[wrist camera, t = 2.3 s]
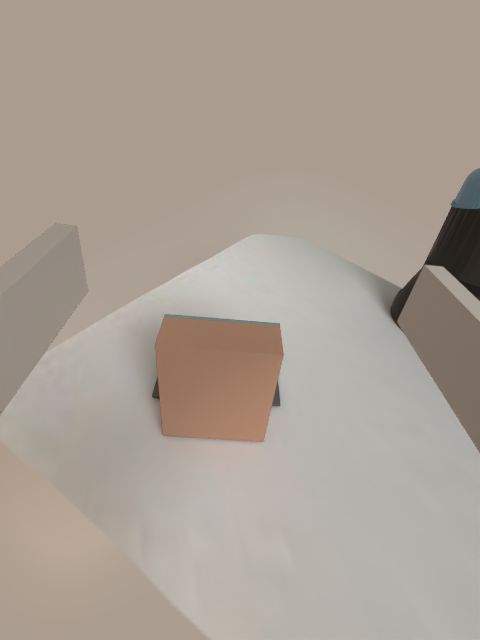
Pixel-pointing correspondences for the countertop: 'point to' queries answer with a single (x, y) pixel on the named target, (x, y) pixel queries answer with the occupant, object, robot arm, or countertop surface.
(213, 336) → the tile
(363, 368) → the countertop surface
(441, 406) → the countertop surface
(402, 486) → the countertop surface
